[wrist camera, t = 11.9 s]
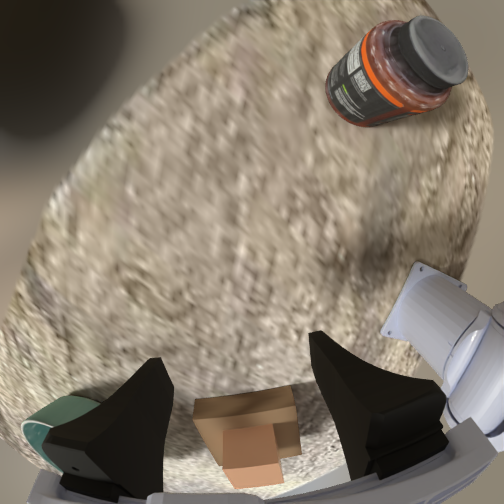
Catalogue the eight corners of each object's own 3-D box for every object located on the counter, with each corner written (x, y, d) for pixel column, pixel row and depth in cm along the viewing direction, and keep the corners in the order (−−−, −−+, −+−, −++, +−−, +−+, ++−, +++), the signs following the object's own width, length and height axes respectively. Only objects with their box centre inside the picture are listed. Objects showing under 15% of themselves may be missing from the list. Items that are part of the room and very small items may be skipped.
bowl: (177, 446, 28) (170, 496, 20) (101, 455, 30) (88, 493, 22) (94, 362, 24) (63, 414, 16) (30, 386, 25) (4, 423, 17)
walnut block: (290, 385, 26) (295, 405, 23) (297, 436, 29) (301, 454, 26) (195, 399, 26) (192, 419, 23) (219, 447, 29) (218, 466, 26)
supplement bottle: (397, 93, 19) (489, 62, 8) (368, 142, 20) (467, 130, 9) (343, 50, 18) (413, -16, 7) (309, 97, 19) (376, 38, 8)
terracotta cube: (272, 423, 24) (278, 462, 19) (278, 447, 25) (284, 482, 20) (222, 430, 24) (222, 469, 19) (233, 453, 25) (235, 489, 20)
